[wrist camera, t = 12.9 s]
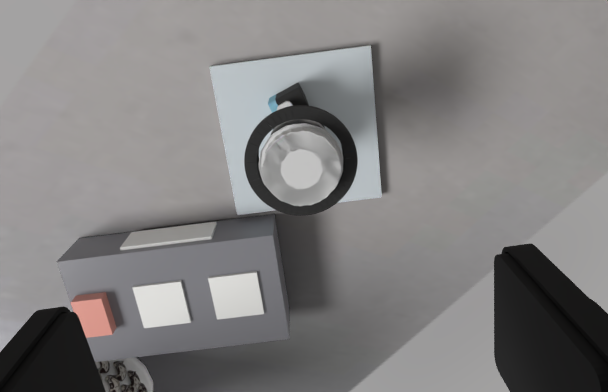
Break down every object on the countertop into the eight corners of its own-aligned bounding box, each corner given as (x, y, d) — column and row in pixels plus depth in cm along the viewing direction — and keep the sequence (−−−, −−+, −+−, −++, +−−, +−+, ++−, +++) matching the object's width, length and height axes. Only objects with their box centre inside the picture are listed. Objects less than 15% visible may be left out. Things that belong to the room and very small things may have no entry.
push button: (362, 156, 32) (391, 215, 23) (291, 192, 33) (291, 263, 23) (316, 65, 30) (327, 88, 21) (241, 106, 31) (219, 146, 21)
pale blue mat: (369, 45, 30) (370, 45, 30) (380, 194, 34) (381, 197, 33) (210, 66, 30) (209, 66, 30) (238, 211, 34) (237, 215, 33)
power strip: (274, 211, 34) (271, 237, 30) (289, 310, 37) (289, 346, 33) (78, 235, 34) (49, 265, 30) (108, 331, 37) (86, 370, 33)
